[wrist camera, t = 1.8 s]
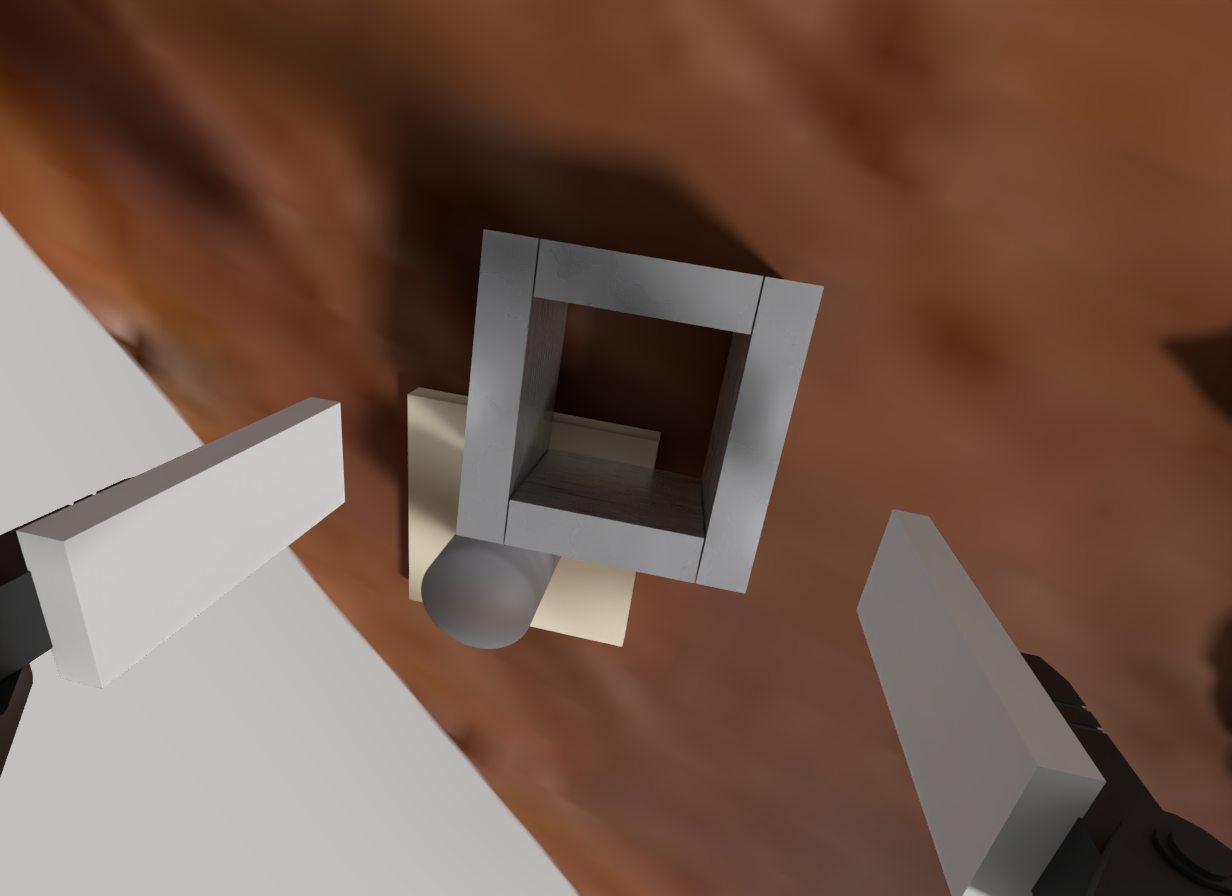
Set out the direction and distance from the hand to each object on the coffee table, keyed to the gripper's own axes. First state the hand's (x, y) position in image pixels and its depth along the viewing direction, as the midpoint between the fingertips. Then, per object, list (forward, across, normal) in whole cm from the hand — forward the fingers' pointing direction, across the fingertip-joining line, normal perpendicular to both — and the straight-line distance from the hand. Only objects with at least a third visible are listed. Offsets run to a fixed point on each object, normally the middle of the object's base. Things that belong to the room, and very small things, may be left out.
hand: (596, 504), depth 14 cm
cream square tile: (+10, -4, -6) cm, 12 cm away
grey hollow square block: (+9, 0, 0) cm, 9 cm away
